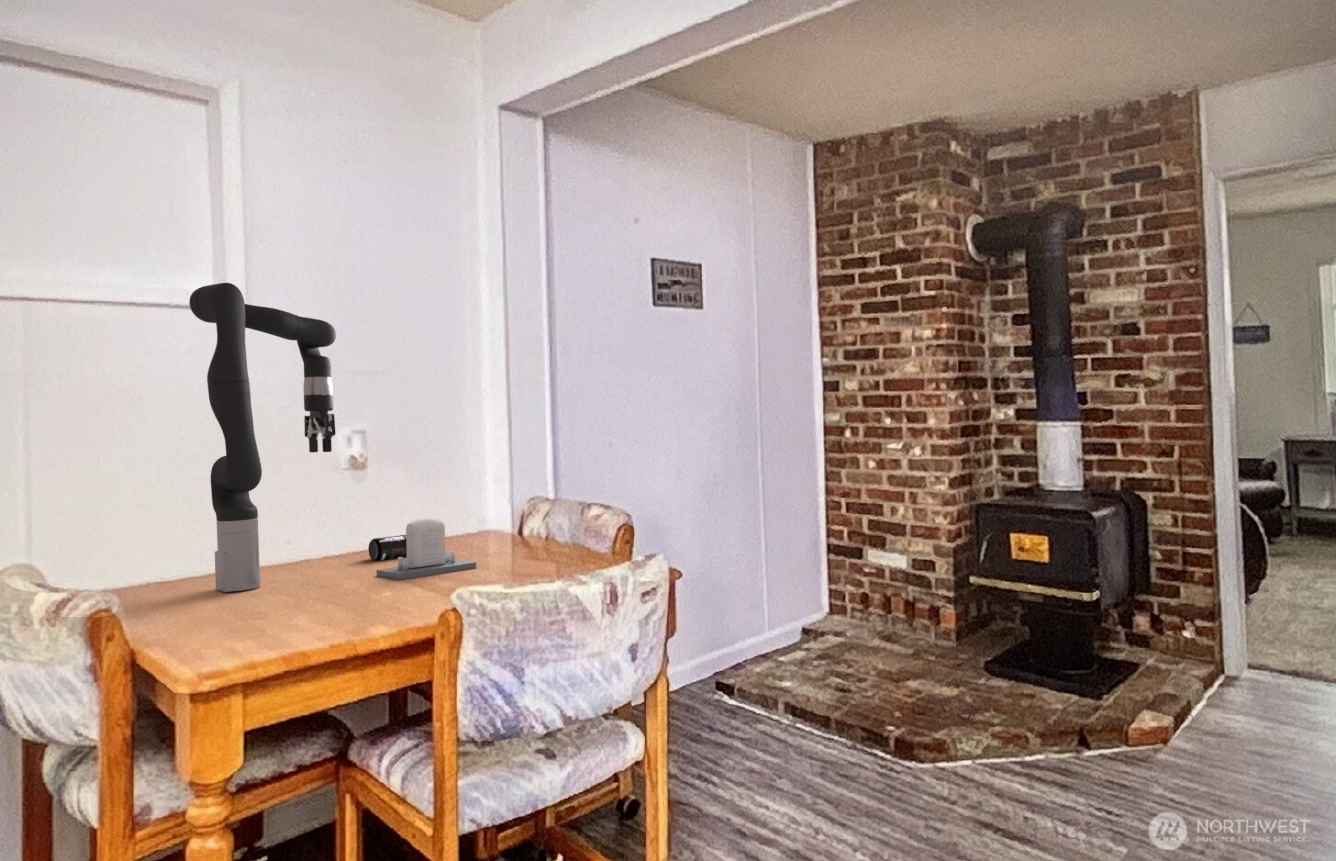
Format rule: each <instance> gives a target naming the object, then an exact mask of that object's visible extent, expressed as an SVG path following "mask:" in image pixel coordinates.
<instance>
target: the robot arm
mask: <svg viewBox="0 0 1336 861" xmlns="http://www.w3.org/2000/svg"><path fill="white" fill-rule="evenodd" d="M188 303H189V308H190V311H191V312H192V314H193V315H194V316H195V317H196V319H198V320H200V321H201V322H204V323H210V324H211V323H212V324H215V326H216V337H217V338H216V339H217V340H216V345H215V349H214V352H213V355H212V358H211V360H210V364H209V367H208V370H207V374H206V375H207V376H206V382H207V392H208V399H209V404H210V408H211V410H212V412H213V415H214V417H215V419H216V421H217V423H218V425H219V426H220V428H221V431H222V433H223V434H222V435H223V437H224V444H225V455H224V456H220V457H219V458H217V459H216V461H214V463H213V465H212V467H211V470H210V491H211V503H212V507H213V508H212V509H213V511H214V513H215V516H216V517H215V518H216V540H217V541H216V543H217V545H216V546H217V548H216V549H217V550H216V551H214V571H215V573H214V574H215V590H216V591H219V592H222V593H229V592H239V591H247V590H252V589H257V588H259V587H261V567H260V544H259V542H260V541H259V540H260V539H259V516H258V514H259V512H258V510H259V509H258V508H257V506H256V505H255V504H254V503H253V502H252V500H251V496H250V491H253V490H255V489H256V488H257V486H258V485H259V484H260V482H261V479H262V476H263V475H262V474H263V473H262V472H263V470H262V463H261V458H260V454H259V450H258V444H257V440H256V436H255V427H254V417H253V409H252V400H251V399H252V398H251V387H250V386H251V385H250V379H249V373H248V371H249V370H248V362H247V361H248V360H247V350H246V346H247V345H246V329H249V330H254V331H257V332H261V333H265V334H268V335H272V336H275V337H278V338H281V339H283V340H287V341H288V340H289V341H296V342H297V344H296V345H297V347H298V349H299V353H300V357H301V359H302V363H303V378H304V379H303V410H304V411H305V412H309V415H304V422H303V424H304V437H305V438H307V439H308V451H309V453H318V452H319V440H318V437H319V434H321V438H322V439H321V440H322V441H321V442H322V445H321V446H322V452H323V453H332V451H333V450H332V449H333V448H332V438H333V436H336V421H335V414H334V413H329V412H331V411H333V410H334V393H333V388H334V387H333V386H334V385H333V380H332V364H331V360H330V358H329V357H328V356H325V355H322V354H321V352H320V349H319V348H325V347H326V348H327V347H329V346H332V344H334V343H335V341H336V339H337V333H336V329H335V328H334V327H333V325H331V323H329V322H328V321H325V320H322V319H317V318H312V317H306V316H305V317H304V316H299V315H297V314H294V313H291V312H288V311H285V310H282V309H278V308H273V307H267V306H260V305H253V304H248V303H245V299H244V295H243V293H242V291H241V290H240V288H239V287H237V285H235V284H233V283H231V282H221V283H220V282H219V283H215V284H208V285H204V286H201V287H198V288H196V289H195V290H193V292H192V293H191V294H190V297H189V302H188Z"/></svg>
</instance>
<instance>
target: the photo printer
mask: <svg viewBox="0 0 1336 861" xmlns="http://www.w3.org/2000/svg"><path fill="white" fill-rule="evenodd" d="M405 535H406V548H407V556H406V558H407V564H408V568H418V567H426V566H433V565H441V564H445V562H446V557H445V551H446V526H445V523H444V521H443V520H441V519H438V518H429V517H427V518H419V519H416V520H412V521H411V522H409V523H407V525H406V527H405Z"/></svg>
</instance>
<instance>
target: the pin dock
mask: <svg viewBox="0 0 1336 861" xmlns="http://www.w3.org/2000/svg"><path fill="white" fill-rule="evenodd" d="M445 557H446V562H445V564H441V565H433V566H426V567H418V568H408V564H407V557H398V558H397V566H394V567H388V568H380V569H376V571H375V572H376V577H381V578H387V579H393V580H398V581H402V580H408V579H413V578H414V579H415V578H421V577H426V576H435V575H441V574H447V573H453V572H459V571H465V570H471V569H476V568H477V561H476V562H475V561H472V560H471V561H470V560H461V559H456V552H455V551H452V550H451V551H450V550H445Z"/></svg>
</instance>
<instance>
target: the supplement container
mask: <svg viewBox="0 0 1336 861" xmlns="http://www.w3.org/2000/svg"><path fill="white" fill-rule="evenodd" d="M368 554H369V557H370V559H371V560H372V561H374V562H378V561H379V560H380V561H385V559H387V560H392V559H391V558H393V559H398V558H397V557H403V558H407V548H406V534H400V535H394V536H393V535H392V536H383V537H376V538H372V539H371V540H370V541H369V543H368ZM380 561H379V562H380Z"/></svg>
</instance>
